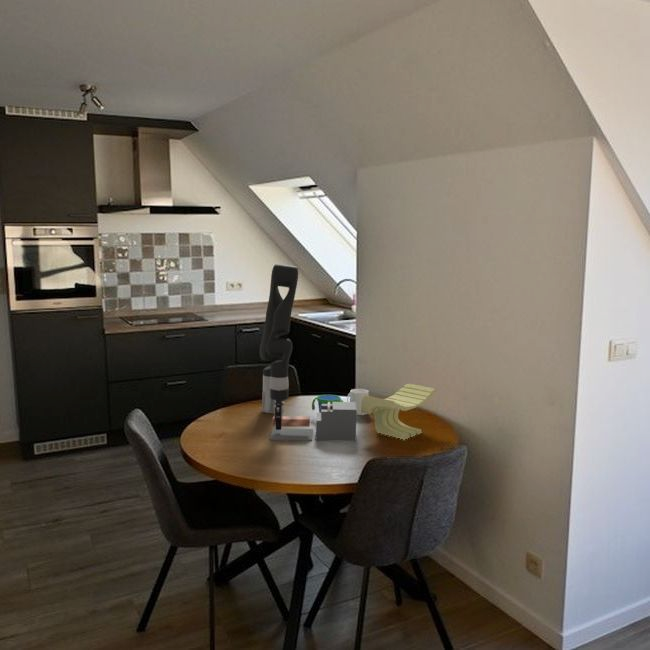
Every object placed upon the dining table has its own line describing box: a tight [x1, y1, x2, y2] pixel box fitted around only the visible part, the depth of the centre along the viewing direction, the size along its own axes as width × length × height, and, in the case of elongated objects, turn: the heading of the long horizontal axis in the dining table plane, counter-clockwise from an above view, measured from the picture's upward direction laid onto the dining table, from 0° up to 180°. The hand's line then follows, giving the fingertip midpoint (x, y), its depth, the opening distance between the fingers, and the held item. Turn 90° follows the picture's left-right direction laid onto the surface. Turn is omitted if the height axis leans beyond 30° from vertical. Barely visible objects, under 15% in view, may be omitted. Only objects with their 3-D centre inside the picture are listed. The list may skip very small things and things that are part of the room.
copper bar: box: [272, 415, 311, 428], centre depth 262 cm, size 15×5×3 cm, turn 90°
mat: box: [269, 427, 314, 442], centre depth 263 cm, size 17×14×1 cm
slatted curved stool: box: [361, 383, 436, 441], centre depth 267 cm, size 30×16×18 cm, turn 139°
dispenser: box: [315, 401, 357, 442], centre depth 262 cm, size 16×12×13 cm
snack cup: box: [311, 394, 345, 413], centre depth 286 cm, size 16×10×10 cm
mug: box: [346, 388, 370, 416], centre depth 297 cm, size 9×12×11 cm
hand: (279, 427), depth 262 cm, fingers closed on copper bar, 5 cm apart
